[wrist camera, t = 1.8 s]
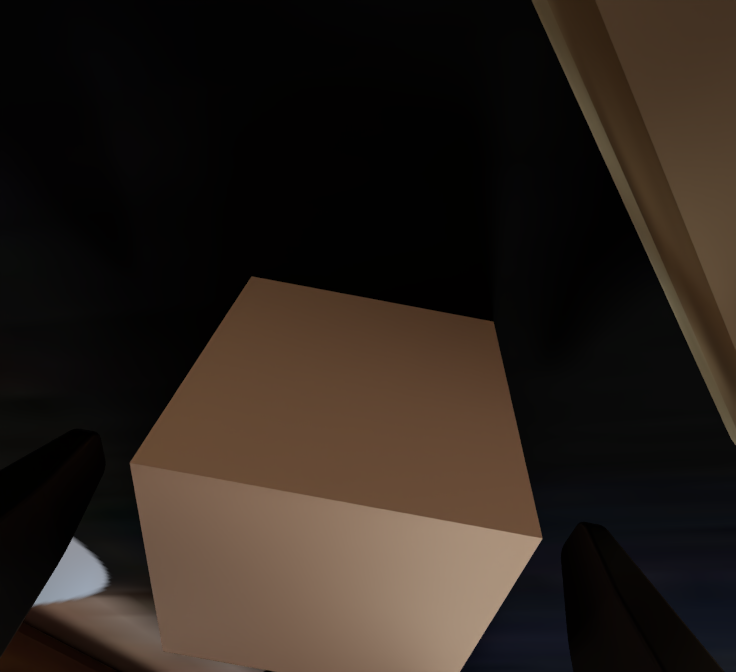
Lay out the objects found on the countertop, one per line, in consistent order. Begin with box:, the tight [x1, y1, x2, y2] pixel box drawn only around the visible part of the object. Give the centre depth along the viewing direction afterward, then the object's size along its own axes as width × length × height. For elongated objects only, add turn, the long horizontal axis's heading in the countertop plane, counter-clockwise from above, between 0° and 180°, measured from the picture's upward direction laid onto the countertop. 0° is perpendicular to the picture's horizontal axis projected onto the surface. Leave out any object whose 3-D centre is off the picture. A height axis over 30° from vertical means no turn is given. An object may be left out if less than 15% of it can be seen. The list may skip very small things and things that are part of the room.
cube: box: [130, 276, 542, 672], centre depth 9 cm, size 5×5×5 cm
